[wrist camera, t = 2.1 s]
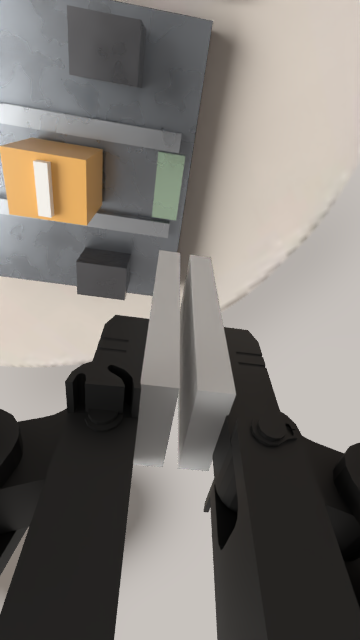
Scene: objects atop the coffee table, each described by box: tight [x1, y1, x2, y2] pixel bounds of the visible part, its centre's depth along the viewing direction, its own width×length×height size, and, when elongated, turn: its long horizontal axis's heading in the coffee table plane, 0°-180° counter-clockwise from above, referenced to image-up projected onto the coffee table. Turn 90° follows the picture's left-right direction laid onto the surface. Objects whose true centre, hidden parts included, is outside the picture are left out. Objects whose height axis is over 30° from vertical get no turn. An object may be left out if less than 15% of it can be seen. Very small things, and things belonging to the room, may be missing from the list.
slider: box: [0, 138, 103, 226], centre depth 22 cm, size 4×5×6 cm
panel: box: [0, 0, 213, 300], centre depth 24 cm, size 20×18×6 cm
